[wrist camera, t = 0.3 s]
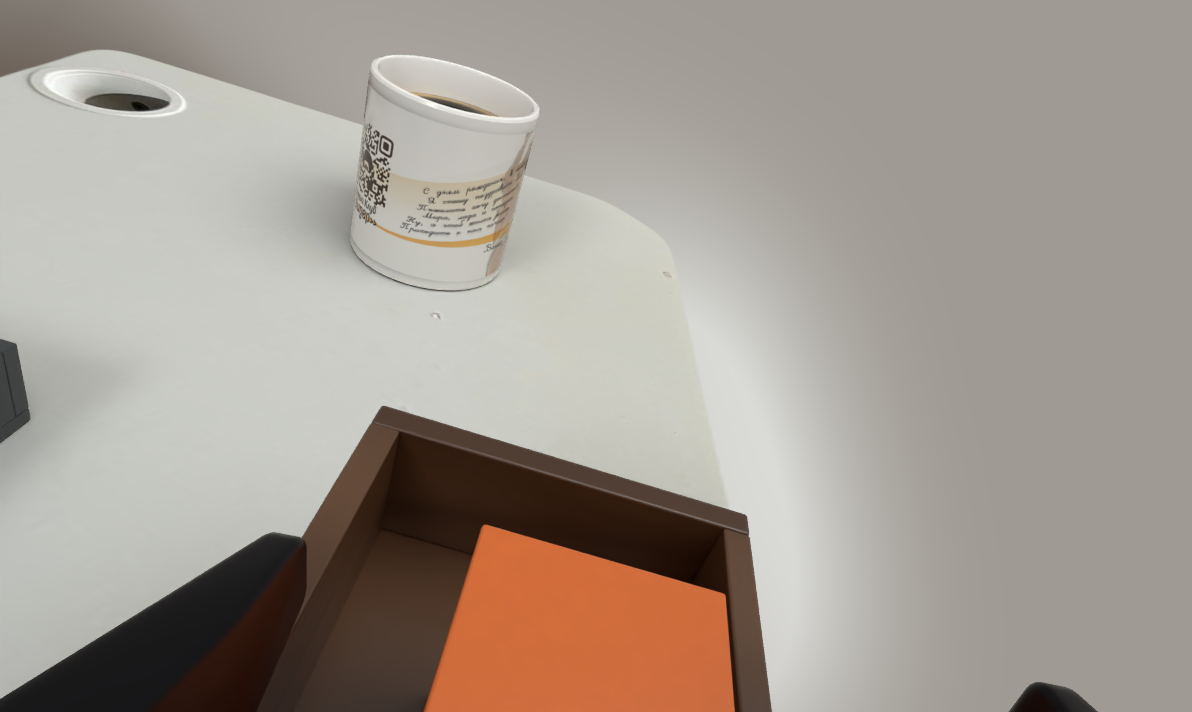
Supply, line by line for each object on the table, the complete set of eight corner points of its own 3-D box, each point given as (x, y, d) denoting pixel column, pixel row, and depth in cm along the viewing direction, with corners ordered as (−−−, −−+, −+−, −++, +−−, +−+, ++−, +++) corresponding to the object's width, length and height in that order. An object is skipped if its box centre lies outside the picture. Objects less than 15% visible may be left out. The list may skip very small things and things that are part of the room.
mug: (320, 266, 40) (337, 76, 34) (363, 189, 50) (383, 31, 44) (495, 306, 43) (540, 134, 37) (504, 225, 52) (540, 80, 46)
